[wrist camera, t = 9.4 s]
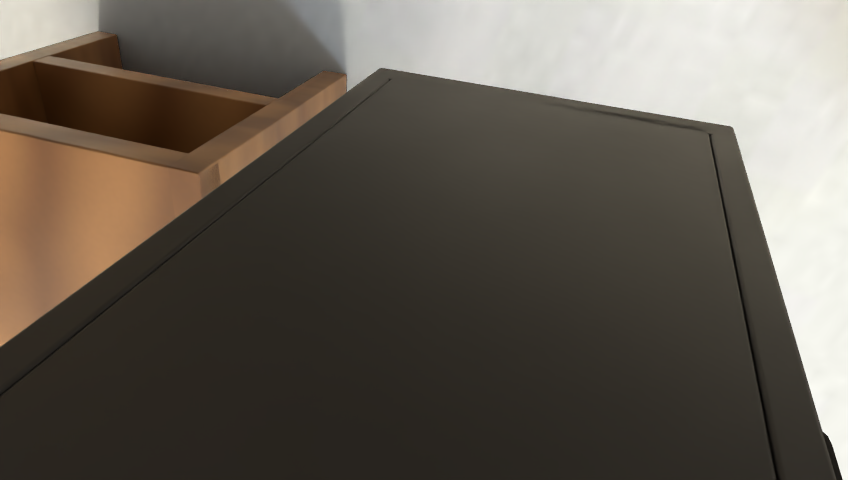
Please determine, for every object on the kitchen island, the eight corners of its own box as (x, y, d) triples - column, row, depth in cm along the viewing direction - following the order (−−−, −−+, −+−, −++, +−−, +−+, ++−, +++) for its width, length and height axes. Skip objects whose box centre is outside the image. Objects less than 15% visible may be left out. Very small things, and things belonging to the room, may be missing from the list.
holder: (733, 126, 10) (1051, 1182, 2) (640, 399, 13) (615, 1259, 5) (379, 66, 12) (-304, 566, 3) (369, 328, 15) (1, 924, 6)
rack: (347, 73, 31) (198, 173, 21) (344, 281, 37) (228, 434, 27) (97, 30, 34) (-136, 99, 24) (133, 229, 40) (-40, 349, 30)
